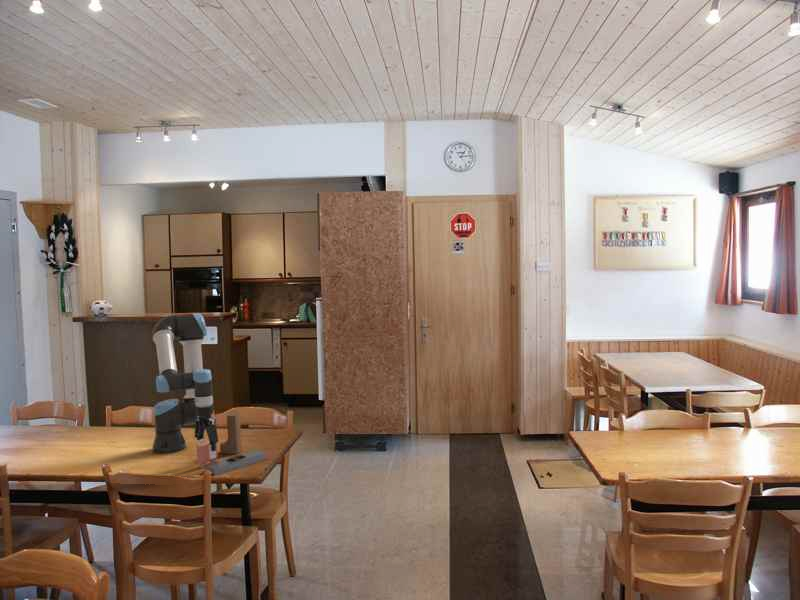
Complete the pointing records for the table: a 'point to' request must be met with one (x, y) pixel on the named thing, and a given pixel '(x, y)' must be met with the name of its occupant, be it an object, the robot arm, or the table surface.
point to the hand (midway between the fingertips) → (207, 456)
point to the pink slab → (204, 454)
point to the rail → (235, 462)
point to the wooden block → (232, 436)
